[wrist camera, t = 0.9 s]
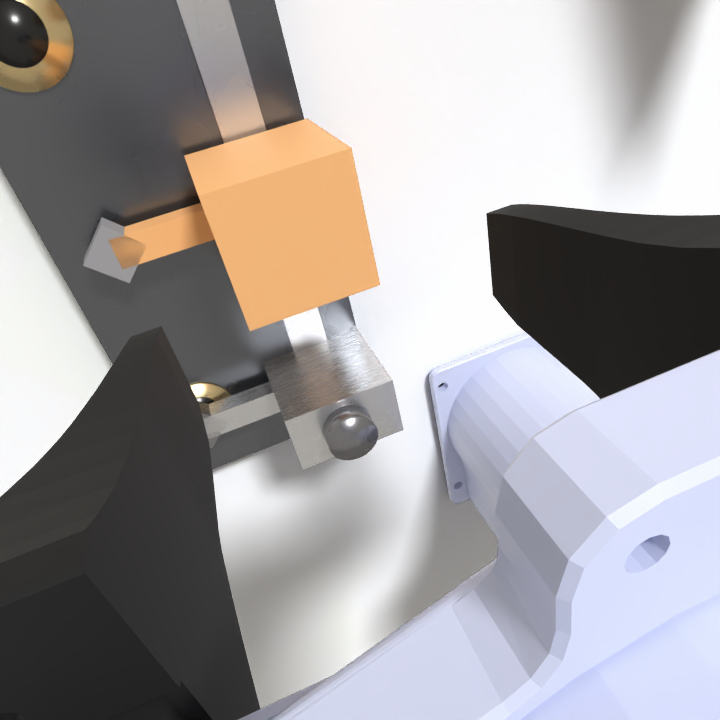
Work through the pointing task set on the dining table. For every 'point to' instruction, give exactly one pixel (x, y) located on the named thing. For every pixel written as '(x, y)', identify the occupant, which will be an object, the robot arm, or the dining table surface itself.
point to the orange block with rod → (262, 223)
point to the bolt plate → (177, 206)
